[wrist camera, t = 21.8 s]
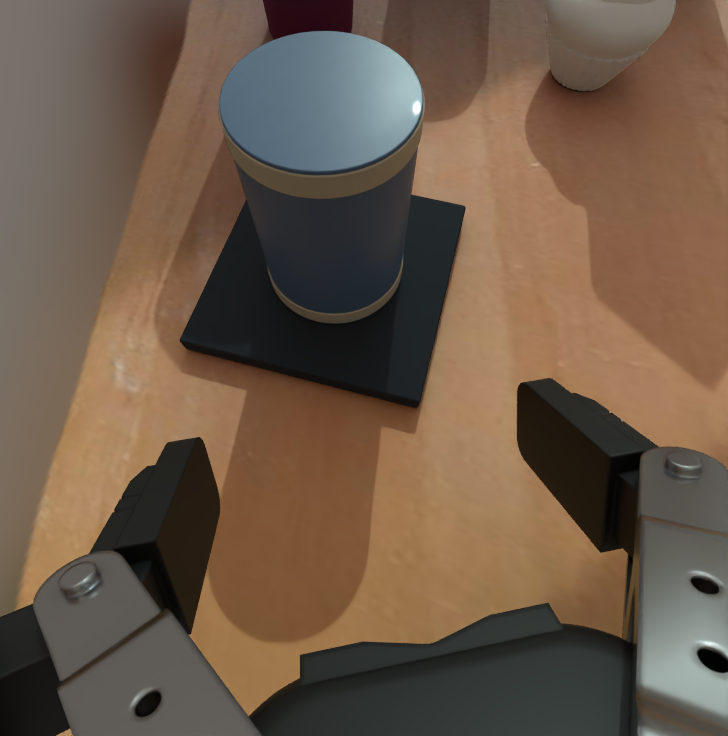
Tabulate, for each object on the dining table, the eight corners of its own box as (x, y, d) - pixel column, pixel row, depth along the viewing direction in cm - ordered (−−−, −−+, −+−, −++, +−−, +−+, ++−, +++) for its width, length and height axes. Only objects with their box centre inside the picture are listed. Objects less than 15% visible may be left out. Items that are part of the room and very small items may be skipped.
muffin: (603, 30, 28) (677, -132, 21) (653, 99, 25) (754, -59, 19) (507, 48, 27) (553, -114, 20) (550, 119, 25) (618, -37, 18)
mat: (417, 408, 18) (420, 402, 18) (185, 349, 19) (178, 340, 18) (462, 217, 22) (466, 205, 21) (266, 175, 23) (263, 162, 22)
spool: (383, 339, 19) (398, 194, 11) (251, 307, 19) (182, 148, 12) (414, 230, 21) (444, 47, 13) (294, 204, 21) (259, 14, 14)
